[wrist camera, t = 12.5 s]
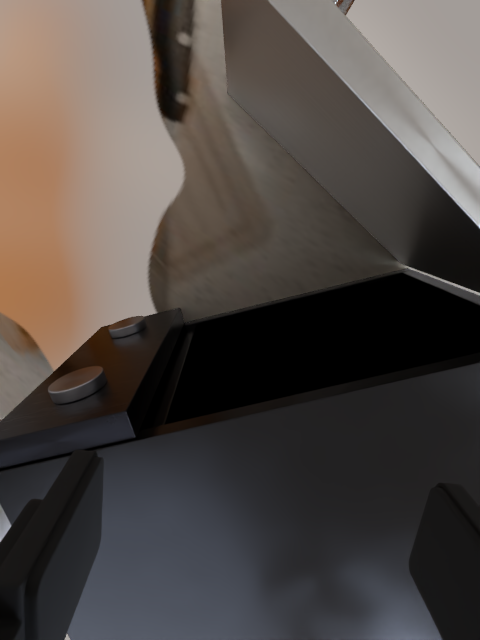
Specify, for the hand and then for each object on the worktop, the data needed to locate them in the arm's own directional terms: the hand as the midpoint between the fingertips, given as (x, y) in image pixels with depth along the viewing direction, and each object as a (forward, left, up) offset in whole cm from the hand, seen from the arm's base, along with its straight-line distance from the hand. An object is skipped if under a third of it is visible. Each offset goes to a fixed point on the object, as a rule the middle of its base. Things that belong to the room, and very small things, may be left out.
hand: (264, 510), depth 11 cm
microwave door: (+12, +10, -28) cm, 32 cm away
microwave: (+1, -11, -28) cm, 30 cm away
